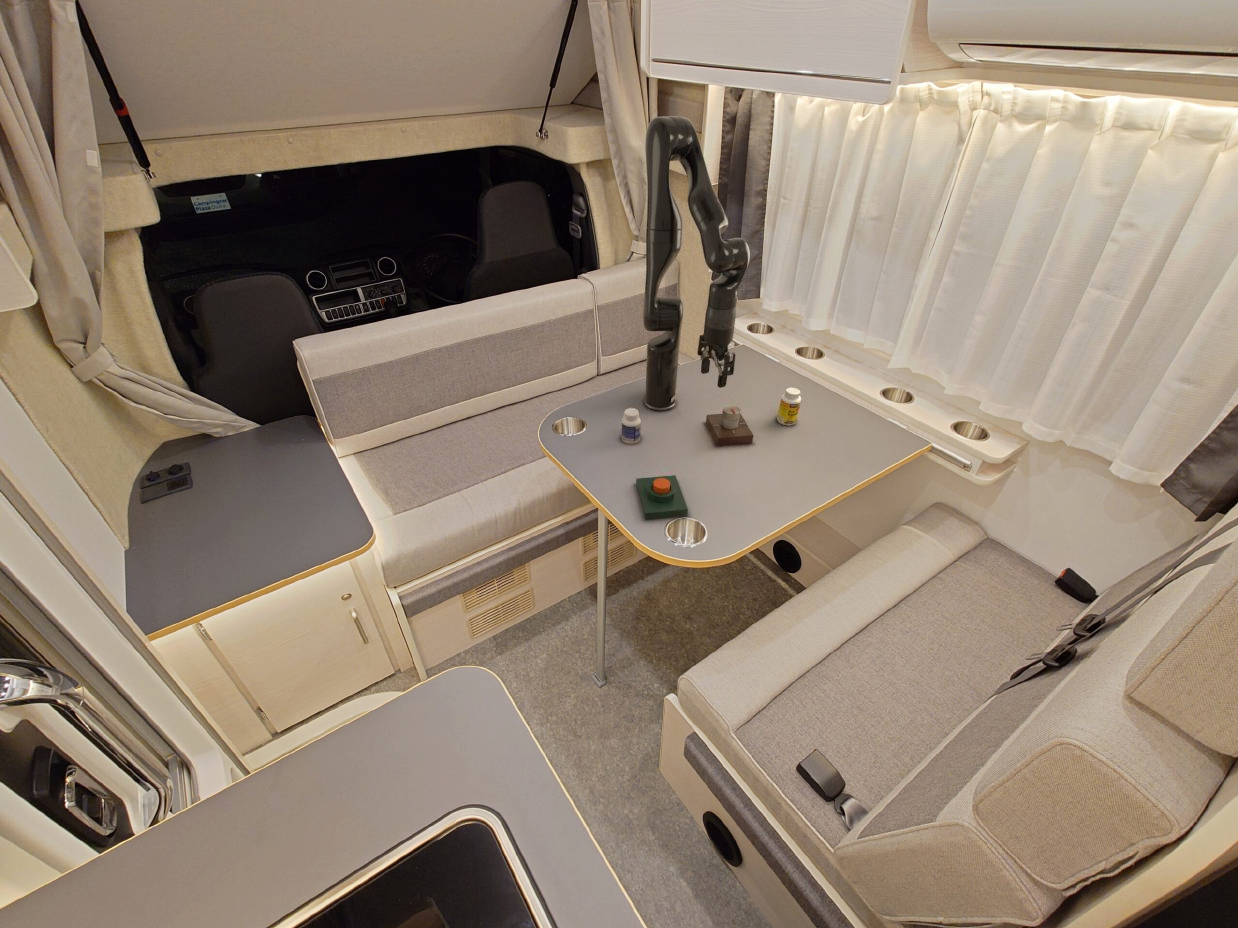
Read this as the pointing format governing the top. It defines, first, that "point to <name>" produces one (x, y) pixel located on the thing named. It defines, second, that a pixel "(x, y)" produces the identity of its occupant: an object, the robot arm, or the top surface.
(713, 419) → the dial panel
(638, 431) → the pill bottle
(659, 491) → the button
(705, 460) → the top surface
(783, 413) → the supplement bottle
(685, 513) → the switch block
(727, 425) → the dial
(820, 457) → the top surface
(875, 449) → the top surface
